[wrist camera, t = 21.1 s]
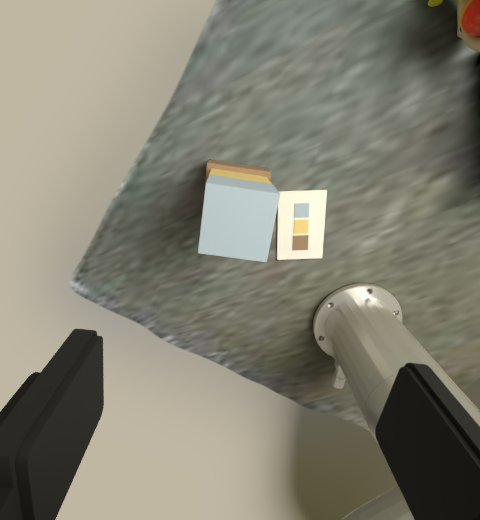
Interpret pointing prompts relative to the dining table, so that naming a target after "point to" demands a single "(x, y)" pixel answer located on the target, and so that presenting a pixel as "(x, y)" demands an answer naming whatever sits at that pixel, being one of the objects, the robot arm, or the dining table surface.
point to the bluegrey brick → (238, 218)
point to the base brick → (235, 170)
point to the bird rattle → (467, 21)
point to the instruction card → (301, 224)
